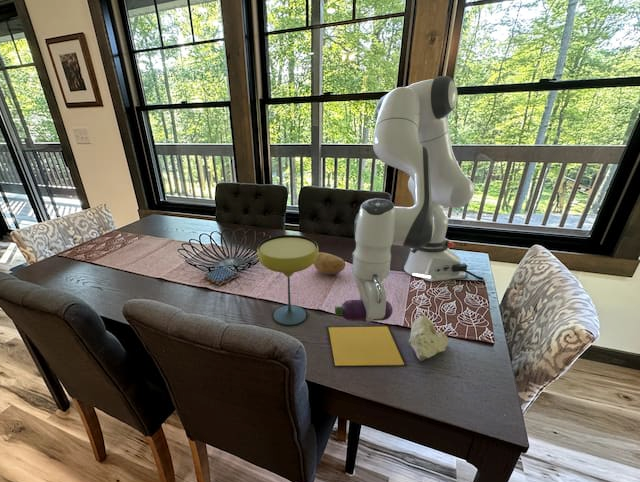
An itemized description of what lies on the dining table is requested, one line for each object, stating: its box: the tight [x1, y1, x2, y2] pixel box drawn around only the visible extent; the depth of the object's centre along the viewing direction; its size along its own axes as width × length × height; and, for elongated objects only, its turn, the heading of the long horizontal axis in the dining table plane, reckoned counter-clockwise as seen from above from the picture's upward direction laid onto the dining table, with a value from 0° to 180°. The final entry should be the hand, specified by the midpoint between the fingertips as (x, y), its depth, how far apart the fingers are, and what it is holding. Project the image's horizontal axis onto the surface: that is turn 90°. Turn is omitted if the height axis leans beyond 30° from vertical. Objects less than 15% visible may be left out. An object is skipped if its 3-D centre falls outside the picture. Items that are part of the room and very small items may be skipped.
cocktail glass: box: [256, 234, 319, 326], centre depth 97 cm, size 18×18×25 cm
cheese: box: [408, 314, 450, 362], centre depth 84 cm, size 15×7×15 cm
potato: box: [313, 251, 347, 275], centre depth 126 cm, size 10×14×8 cm
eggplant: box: [334, 299, 393, 322], centre depth 83 cm, size 15×6×6 cm, turn 88°
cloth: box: [328, 326, 405, 367], centre depth 89 cm, size 18×16×1 cm
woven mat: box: [204, 266, 240, 286], centre depth 128 cm, size 10×11×2 cm
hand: (365, 312), depth 84 cm, fingers closed on eggplant, 5 cm apart
